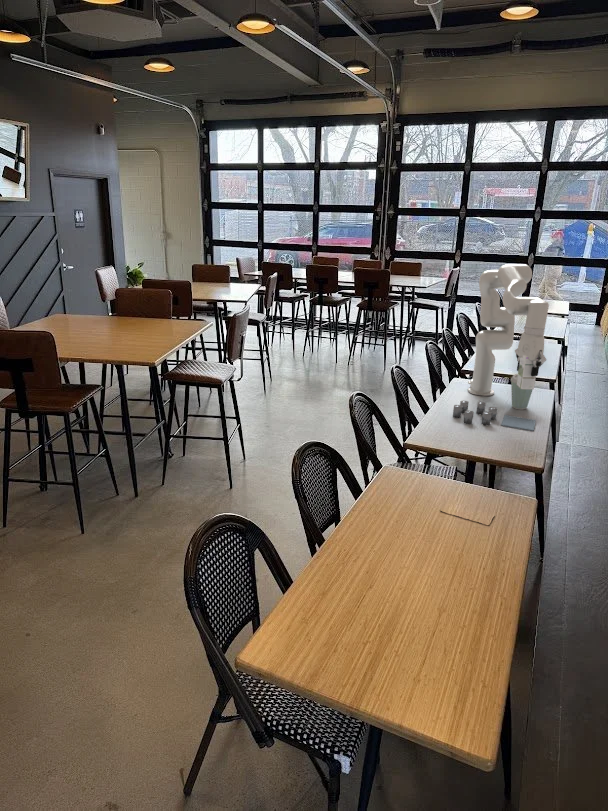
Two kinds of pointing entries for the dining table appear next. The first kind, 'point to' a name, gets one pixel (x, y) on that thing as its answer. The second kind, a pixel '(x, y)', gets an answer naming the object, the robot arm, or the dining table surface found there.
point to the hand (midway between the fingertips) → (527, 372)
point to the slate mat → (518, 423)
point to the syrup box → (525, 373)
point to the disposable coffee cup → (519, 395)
